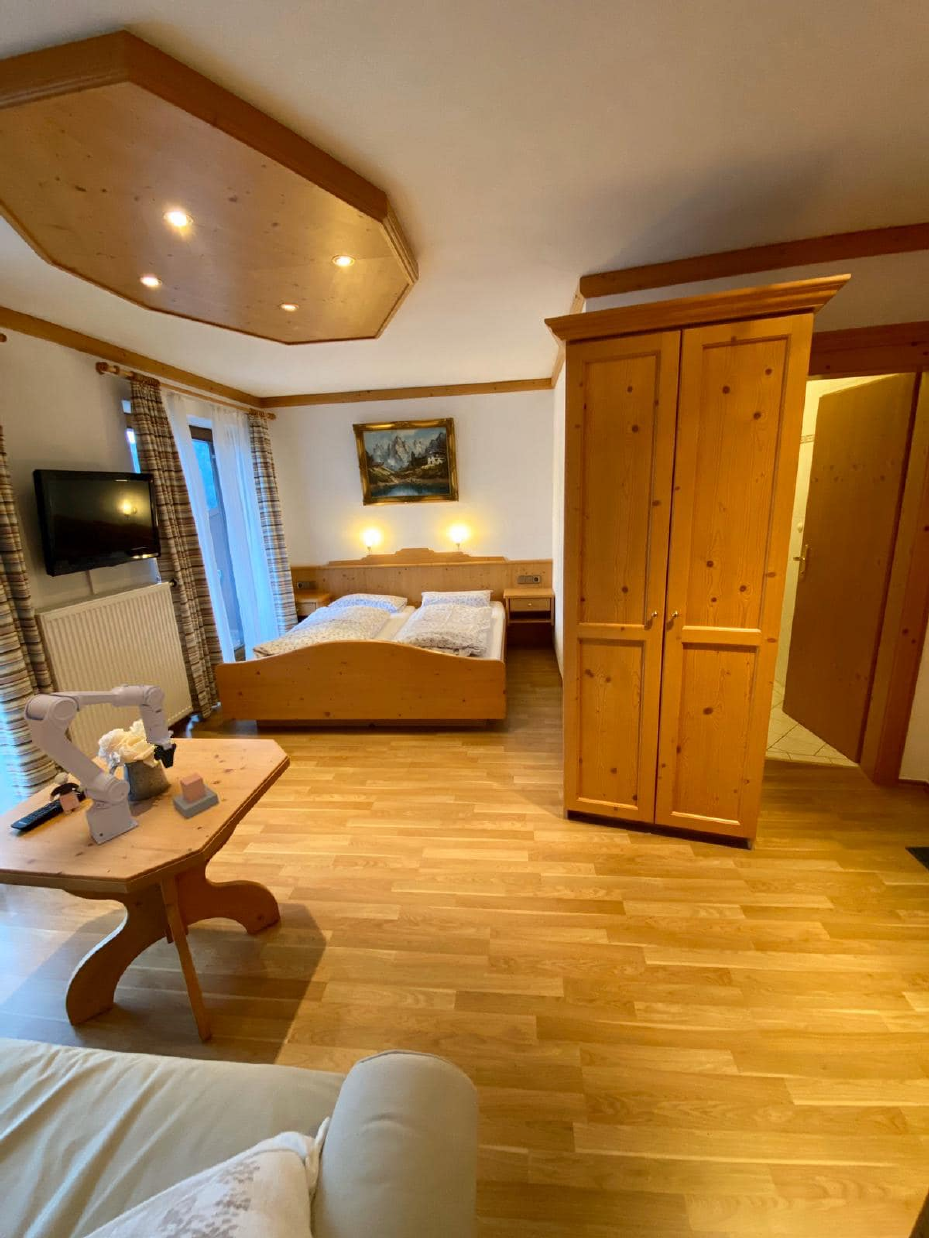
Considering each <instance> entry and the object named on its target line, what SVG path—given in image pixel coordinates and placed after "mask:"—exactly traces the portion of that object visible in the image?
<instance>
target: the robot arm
mask: <svg viewBox="0 0 929 1238" xmlns="http://www.w3.org/2000/svg"><path fill="white" fill-rule="evenodd" d="M164 700H165V691H163V690H162V689H161V687H159V686H155V685H147V684H146V685H145V684H142V683H141V684H137V685H129V683H128V684H127V683H124V684H123V683H122V684H120V686H119V685H118V686H115V687H113V688H112V689H111V690H110V691H105V690H104V691H101V690H99V691H97V690H95V691H93V690H92V691H89V690H88V691H86V690H85V691H82V690H81V691H79V690H78V691H74V690H73V691H72V690H71V691H61V692H60V691H58V692H51V693H49V694H45V693H43V694H42V693H40V694H36V695H34V696H32V697H31V698H30V699H29V700H27V702H26V704H25V707H24V710H23V714H22V718H23V719H24V721H25V722H26V723H27V727H28V730H29V734H30V739H31V742H32V744H33V745H34V746H35V747H37V748H38V749H39V750H41V751H42V752H43V753H44V754H45V755H46V756H48V757H49V758H50V759H51V760H53V761H54V762H55V763H56V764H57V765H59V766H60V767H61V768H62V769H64V770H65V772H66V773H67V772H68V774H70V775H71V776H72V777H73V778H75V779H76V780H77V781H79V782H80V784H79V786H80V787H81V788H82V789H83V794H84V796H85V797H86V798H87V799H88V800H91V801H92V804H93V806H91V807H90V808H89V809H86V810H85V811H84V815H85V819H86V821H87V825H88V828H89V833H90V835H91V836H92V838H93V839H94V840H95V842H96V844H98V845H101V844H103V843H105V842H107V841H109V840H112V839H113V838H116V837H118V836H120V835H122V834H124V833H126V832H128V831H130V830H132V829H135V828H136V827H138V826H139V823H138V822H137V820H136V819H135V818H134V817H133V815H132V813H131V812H132V811H131V810H130V805H129V801H128V796H129V794H130V790H131V786H130V783H129V782H128V781H127V780H126V779H121V778H118V776H116V775H114V774H113V773H109V772H108V771H106V770H104V769H103V768H102V767H100V766H99V765H98V764H97V763H96V762H94V761H93V760H92V758H90V757H89V756H88V755H87V754H86V753H85V752H83V751H82V750H81V749H80V748H78V746H77V745H75V744H74V743H73V742H71V740H69V739H68V738H67V737H66V736H65V733H66V731H67V730H68V728H69V726H70V725H71V723H72V721H73V720H74V718H75V717H76V715H77V712H81V711H82V710H83V709H84V706H90V705H100V704H101V705H102V704H111V706H112V707H114V708H122V707H125V708H126V707H138V709H139V712H140V717H141V720H142V724H143V729H144V733H145V737H146V738H145V740H146V741H147V743H150V744H155V745H156V746H158V747H157V749H155V750H154V752H155V754H154V757H153V759H154V760H155V761H156V762H158V761H161V763H162V765H163V767H164V769H166V770H167V769H169V768H172V767H173V766H174V758H175V752H176V749H177V748H178V747H177V744H176V742H172V741H171V736H172V735H174V731H173V730H169V728H168V724H167V720H166V715H165V711H164Z"/></svg>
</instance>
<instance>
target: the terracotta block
mask: <svg viewBox="0 0 929 1238" xmlns="http://www.w3.org/2000/svg"><path fill="white" fill-rule="evenodd" d="M179 781H180V786H181V791H182V794H183V796H184V798H185V799H186V800H187V801H188V802H190V803H191V802H193V801H195V800H198V799H200V798H202V797H204V796H206V792H205V788H204V785H205V783H204V779H203V777H202V776H201V775H199V774H198V773H197V772H195V773H192V774H190V775H188V776H185V777H183V778H180V779H179Z"/></svg>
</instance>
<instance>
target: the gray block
mask: <svg viewBox="0 0 929 1238" xmlns="http://www.w3.org/2000/svg"><path fill="white" fill-rule="evenodd" d="M204 788H205V792H206V796H204V797H202V798H200V799H198V800H195V801H193V802H191V803H190V802H188V801H187V800H186V799H185V798H184V796H183V793H182V794H180V795H178V796H176V797H174V798H172V801H173V806H174V808H175V809H176V810H177V812H179V813H180V815H182V816H183V817H185V819H187V820H188V819H190V818H192V817H195V816H196V815H198V814H200V813H202V812H204V811H206V810H208V809H210V808H212V807H214V806H216V805H218V804H220V801H219V797H218V793H216V792H215V791H214V790H212V789H211V788H210V787H208V786H207V785H206V784H204Z"/></svg>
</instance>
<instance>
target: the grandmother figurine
mask: <svg viewBox="0 0 929 1238" xmlns="http://www.w3.org/2000/svg"><path fill="white" fill-rule="evenodd" d="M68 774H69V773H67V772H66V771H64V772H59V773H58V774H57V775H55V777H54V780H53V781H54V784H57V786H56V787H55V788H54V789H52V791H51V793H50V794H49V795H50V796H49V802H53V801H54V800H55V797H56V796H58V795H59V801H60V804H61V807H62V809H63V813H64V815H70V814H71V813H72V812H73V810H74V812H78V811H80V810H81V809H82V808H83V806H84V805H83V804H81V803H80V801H79V798H78V796H77V793H76V792H75V790H77V791H78V792H79V793H82V792H84V790H83V788H82V787H80V784H78V783H74V782H69V775H68Z"/></svg>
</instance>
